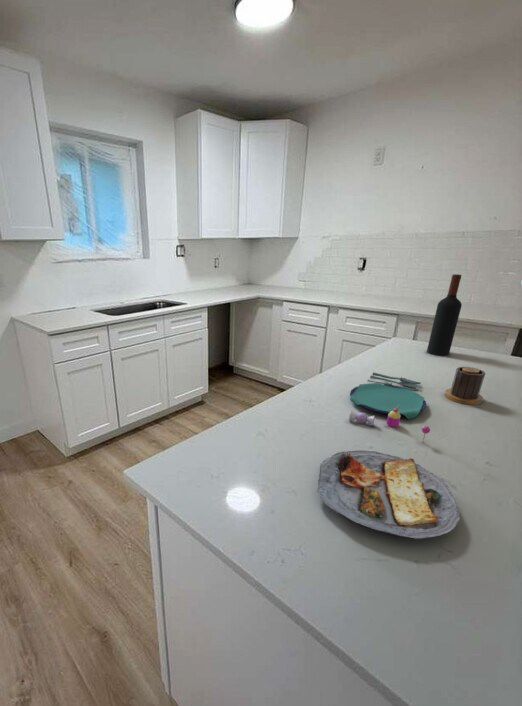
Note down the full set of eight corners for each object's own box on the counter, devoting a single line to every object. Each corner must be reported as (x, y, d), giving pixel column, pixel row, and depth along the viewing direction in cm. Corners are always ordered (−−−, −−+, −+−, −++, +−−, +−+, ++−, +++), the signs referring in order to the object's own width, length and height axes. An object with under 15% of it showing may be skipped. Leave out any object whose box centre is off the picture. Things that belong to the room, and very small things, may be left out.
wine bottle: (423, 353, 144) (441, 275, 132) (430, 348, 149) (448, 273, 137) (445, 357, 139) (466, 276, 127) (451, 352, 144) (472, 274, 132)
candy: (346, 426, 94) (349, 405, 92) (353, 413, 100) (356, 393, 98) (426, 445, 85) (432, 422, 83) (428, 430, 91) (434, 408, 89)
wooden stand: (476, 393, 109) (485, 366, 106) (485, 406, 102) (495, 377, 98) (441, 390, 112) (449, 362, 109) (448, 402, 105) (456, 373, 101)
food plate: (322, 449, 85) (323, 437, 83) (437, 469, 77) (441, 455, 75) (312, 525, 64) (314, 510, 62) (469, 564, 55) (476, 547, 54)
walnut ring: (474, 391, 108) (481, 368, 105) (480, 400, 102) (488, 376, 99) (448, 388, 110) (454, 365, 107) (453, 397, 105) (460, 373, 102)
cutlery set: (340, 408, 104) (341, 400, 103) (366, 374, 125) (367, 368, 125) (419, 427, 93) (421, 419, 92) (433, 387, 114) (435, 380, 113)
